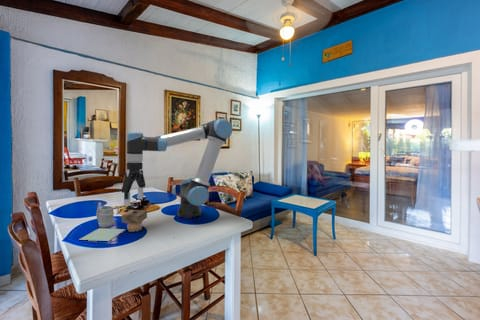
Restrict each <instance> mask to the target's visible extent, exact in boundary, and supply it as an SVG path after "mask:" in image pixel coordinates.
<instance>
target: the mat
mask: <svg viewBox="0 0 480 320" xmlns="http://www.w3.org/2000/svg"><path fill="white" fill-rule="evenodd" d="M125 231H126V228H125V229H124V228H122V229H121V228H106V227H98V229H95V230H93V231H92V232H90V233H88V234H86V235H85V236H83V237H80V238H79V239H78V241H79V240H88V241H87V242H97V241H108V242H107V243H109V242H111V241H113V240H114V239H115V238H116V236H117V237H118V236H119V234H120V233H121V234H122V233H124V232H125ZM121 234H120V235H121ZM113 238H114V239H113ZM110 240H111V241H110Z"/></svg>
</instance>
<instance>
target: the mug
mask: <svg viewBox="0 0 480 320" xmlns="http://www.w3.org/2000/svg"><path fill="white" fill-rule="evenodd" d="M97 204H98V205H97V209H96V214H95V215H96V220H97V221H98V222H97V223H98V228H110V227H112V225H113V226H114V224H115V219H114V214H115V212H114V207H113V206H112V205H111V206H109V205H107V206H102V202H97ZM109 226H110V227H109Z"/></svg>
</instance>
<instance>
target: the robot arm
mask: <svg viewBox="0 0 480 320" xmlns="http://www.w3.org/2000/svg"><path fill="white" fill-rule="evenodd" d="M233 129H234V127H233V125H232V123H231V122H230V120H228V119H227V118H218V119H215V120H214V119H213V120H210V121H208V122H206V123H204V124H199V126H198V127H193V128H192V127H191V128H189V129H184V130H180V131H176V132H175V131H174V132H171V133H167V134H162V135H158V136H144V133H143V132H135V131H130V132H128V133H127V135H126V156H125V157H126V170H128V172H125V174H124V180H123V183H122V186H121V191H120V192H121V193H123V194H124V196H123V206H124V207H125V206H131V190H132V186H133V184H134V182H136V184H137V186H138V187H137V200H143V199H144V188H145V187H146V181H145V176H144V170H143V167H144V166H143V161H144V155H143V154H144V153H143V152H160V153H161V152H166V151H167V148H169V147H173V146H176V145H180V144H184V143H188V142H193V141H197V140H206V139H207V140H208V141H207V145H206V146H205V149H204V152H203V154H202V157H201V160H200V163H199V165H198V168H197V170H196V172H195V173H196V174H195V176H194V177H193V178H191V179H184V180H183V179H182V180H181V181H180V185H179V186H180V204H179V207H178V209H177V217H179V218H181V217H183V218H182V219H193V218H192V217H195V218H197V217H196V216H199V215H200V214H201V215H202V209H201V206H202V205H204V204H205V203H206V202H207V201H208V199H209V194H210V193H209V190H210V183H209V181H210V179H211V175H212V173H213V170H214V168H215V164H216V162H217V159H218V156H219V154H220V152H221V149H222V146H223V145H225V144H226V142H227V140H228V138H229V137H230V136H232V135H233V131H234V130H233ZM201 215H200V216H201ZM200 216H199V217H200Z"/></svg>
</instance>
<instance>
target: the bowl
mask: <svg viewBox="0 0 480 320" xmlns="http://www.w3.org/2000/svg"><path fill="white" fill-rule="evenodd" d="M126 224H127V225H126V226H127V230H128V231H127V232H129V233H134V232H135V231H136V232H139V230H140V231H142V230H143V221H142V222H140V223H126Z"/></svg>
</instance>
